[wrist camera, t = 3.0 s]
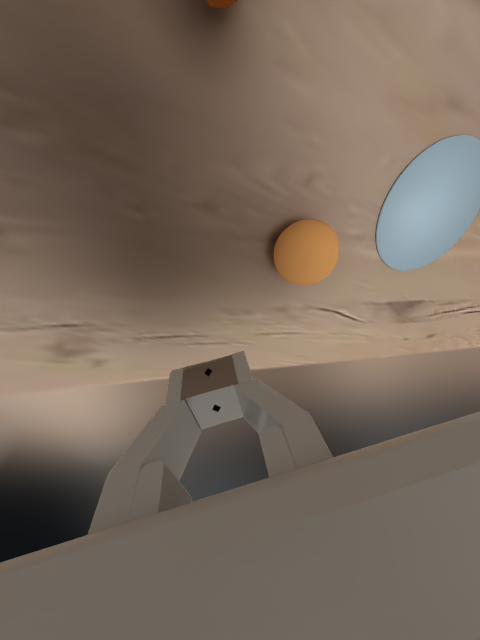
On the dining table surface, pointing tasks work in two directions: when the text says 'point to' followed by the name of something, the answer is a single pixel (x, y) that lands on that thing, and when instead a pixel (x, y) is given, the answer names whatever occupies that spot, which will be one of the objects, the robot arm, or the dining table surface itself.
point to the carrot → (220, 3)
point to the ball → (306, 252)
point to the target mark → (430, 204)
